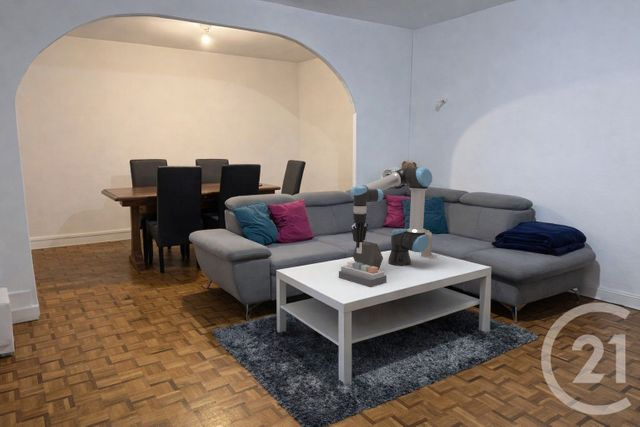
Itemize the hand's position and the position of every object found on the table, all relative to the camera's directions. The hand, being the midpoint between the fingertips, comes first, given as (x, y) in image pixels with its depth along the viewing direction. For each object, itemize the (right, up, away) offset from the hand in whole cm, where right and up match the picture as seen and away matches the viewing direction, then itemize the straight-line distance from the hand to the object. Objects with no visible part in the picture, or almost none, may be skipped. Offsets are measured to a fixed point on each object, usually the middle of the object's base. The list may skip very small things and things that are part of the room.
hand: (359, 252), depth 264 cm
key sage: (+4, -10, -2) cm, 11 cm away
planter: (+7, -13, +21) cm, 26 cm away
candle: (+56, -8, +57) cm, 80 cm away
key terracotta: (+7, -11, -6) cm, 14 cm away
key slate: (0, -9, +2) cm, 10 cm away
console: (+2, -16, +1) cm, 16 cm away
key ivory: (-4, -9, +6) cm, 11 cm away
